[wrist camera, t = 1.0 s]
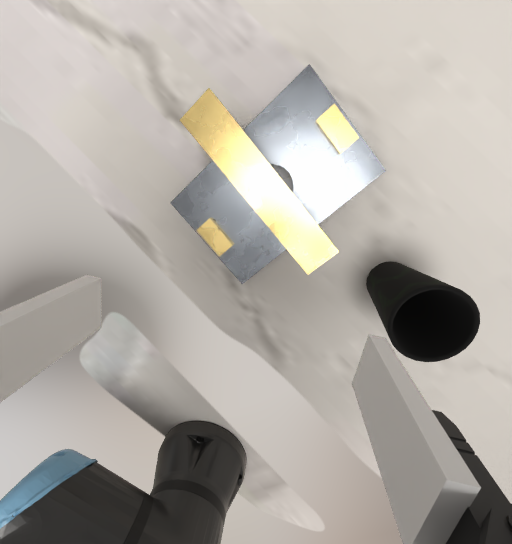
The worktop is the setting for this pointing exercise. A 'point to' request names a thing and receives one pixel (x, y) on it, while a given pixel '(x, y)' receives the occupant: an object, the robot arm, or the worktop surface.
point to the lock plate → (282, 174)
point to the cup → (422, 312)
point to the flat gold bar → (258, 181)
